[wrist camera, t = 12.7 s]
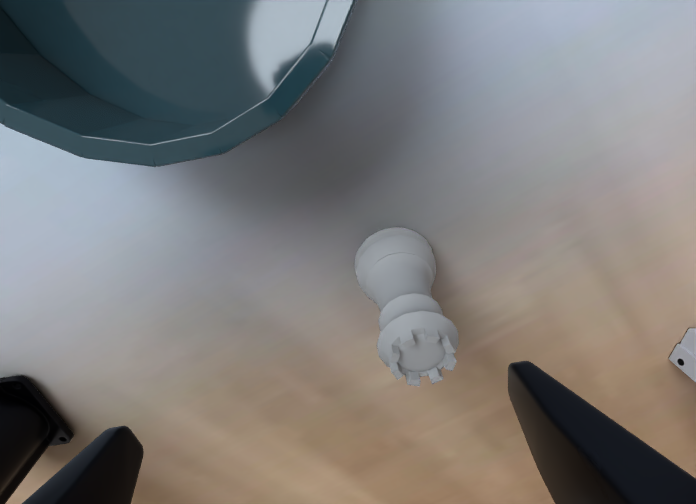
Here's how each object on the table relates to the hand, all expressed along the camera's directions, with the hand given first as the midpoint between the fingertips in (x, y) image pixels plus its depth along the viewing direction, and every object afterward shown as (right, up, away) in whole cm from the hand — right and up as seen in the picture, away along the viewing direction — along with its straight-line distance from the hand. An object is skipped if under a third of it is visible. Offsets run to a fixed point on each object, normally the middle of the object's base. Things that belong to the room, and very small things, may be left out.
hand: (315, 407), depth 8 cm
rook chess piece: (+3, +3, +12) cm, 13 cm away
